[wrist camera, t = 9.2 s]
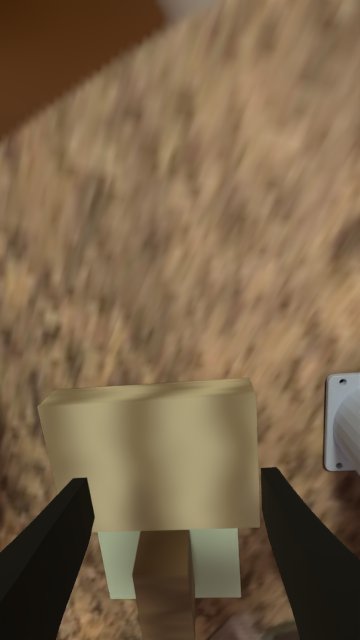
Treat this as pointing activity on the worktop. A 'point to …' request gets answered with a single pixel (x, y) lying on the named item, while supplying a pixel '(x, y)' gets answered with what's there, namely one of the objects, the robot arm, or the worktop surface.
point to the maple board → (159, 453)
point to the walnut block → (165, 585)
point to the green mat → (207, 554)
